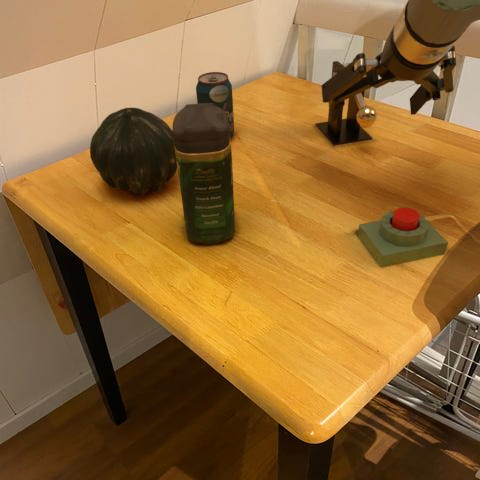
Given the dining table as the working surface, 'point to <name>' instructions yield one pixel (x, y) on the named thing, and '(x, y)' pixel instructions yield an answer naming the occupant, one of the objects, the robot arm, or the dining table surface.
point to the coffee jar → (205, 172)
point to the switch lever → (364, 111)
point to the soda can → (217, 94)
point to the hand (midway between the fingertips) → (372, 109)
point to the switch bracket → (344, 121)
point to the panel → (400, 241)
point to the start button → (405, 219)
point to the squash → (134, 151)
